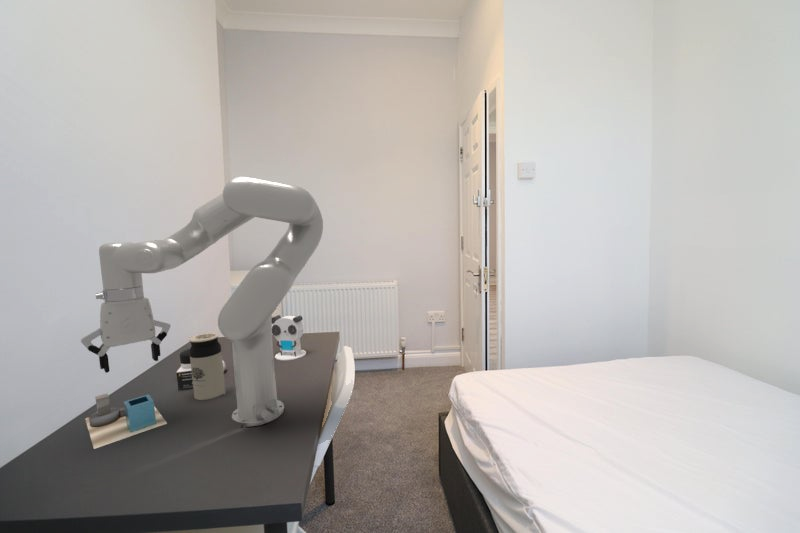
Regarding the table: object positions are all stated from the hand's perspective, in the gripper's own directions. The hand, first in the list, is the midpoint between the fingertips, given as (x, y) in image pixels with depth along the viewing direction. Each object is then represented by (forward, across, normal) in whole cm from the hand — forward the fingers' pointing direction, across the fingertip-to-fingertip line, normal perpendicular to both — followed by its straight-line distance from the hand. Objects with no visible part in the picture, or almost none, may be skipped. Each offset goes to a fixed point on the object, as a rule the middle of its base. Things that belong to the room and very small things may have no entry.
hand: (132, 365), depth 90 cm
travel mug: (+16, +18, +5) cm, 25 cm away
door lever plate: (+16, -2, +5) cm, 17 cm away
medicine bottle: (+16, +17, +16) cm, 29 cm away
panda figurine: (+16, +51, +20) cm, 57 cm away
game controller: (+17, +23, +26) cm, 38 cm away
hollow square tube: (+15, +1, 0) cm, 15 cm away
